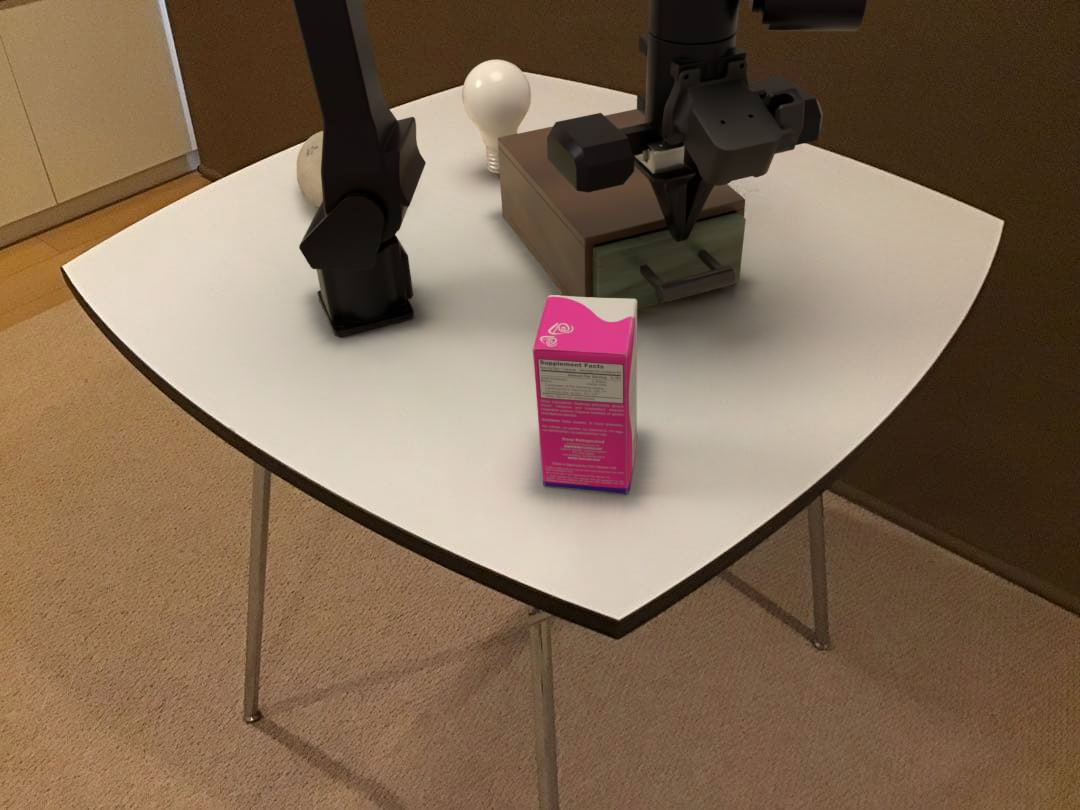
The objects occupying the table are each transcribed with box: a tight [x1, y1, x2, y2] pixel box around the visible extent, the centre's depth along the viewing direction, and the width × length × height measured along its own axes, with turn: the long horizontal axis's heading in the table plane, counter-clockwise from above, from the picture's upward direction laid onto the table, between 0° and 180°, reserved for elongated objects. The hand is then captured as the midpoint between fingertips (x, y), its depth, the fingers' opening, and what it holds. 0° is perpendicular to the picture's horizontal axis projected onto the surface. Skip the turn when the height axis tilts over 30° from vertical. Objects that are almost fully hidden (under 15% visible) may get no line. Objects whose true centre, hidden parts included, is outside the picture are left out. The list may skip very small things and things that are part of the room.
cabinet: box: [498, 108, 747, 297], centre depth 87 cm, size 19×14×8 cm
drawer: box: [593, 212, 747, 310], centre depth 84 cm, size 22×12×6 cm, turn 22°
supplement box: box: [532, 294, 638, 495], centre depth 65 cm, size 6×6×12 cm
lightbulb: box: [461, 59, 532, 176], centre depth 97 cm, size 6×6×11 cm
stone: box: [296, 130, 323, 208], centre depth 97 cm, size 6×6×12 cm
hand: (679, 238), depth 77 cm, fingers closed
